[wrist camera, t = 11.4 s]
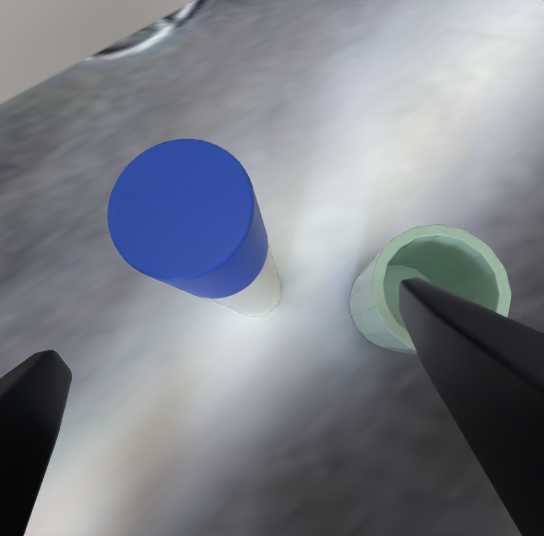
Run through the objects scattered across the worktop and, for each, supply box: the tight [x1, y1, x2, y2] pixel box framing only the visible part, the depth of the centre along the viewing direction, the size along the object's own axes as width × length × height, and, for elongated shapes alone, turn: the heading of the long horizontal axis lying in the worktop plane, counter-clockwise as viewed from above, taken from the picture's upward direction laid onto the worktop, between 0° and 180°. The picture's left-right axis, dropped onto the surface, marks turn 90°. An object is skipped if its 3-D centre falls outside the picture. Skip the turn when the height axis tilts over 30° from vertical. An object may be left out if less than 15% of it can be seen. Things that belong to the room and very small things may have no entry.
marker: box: [108, 139, 281, 317], centre depth 12 cm, size 3×3×12 cm
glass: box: [349, 224, 511, 354], centre depth 14 cm, size 5×5×6 cm
